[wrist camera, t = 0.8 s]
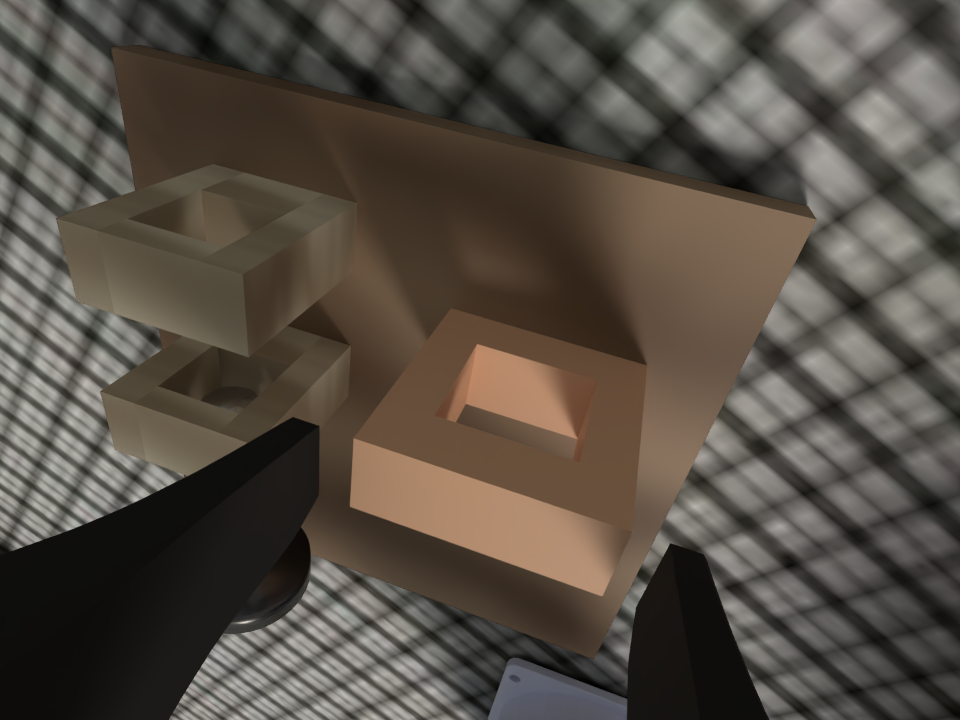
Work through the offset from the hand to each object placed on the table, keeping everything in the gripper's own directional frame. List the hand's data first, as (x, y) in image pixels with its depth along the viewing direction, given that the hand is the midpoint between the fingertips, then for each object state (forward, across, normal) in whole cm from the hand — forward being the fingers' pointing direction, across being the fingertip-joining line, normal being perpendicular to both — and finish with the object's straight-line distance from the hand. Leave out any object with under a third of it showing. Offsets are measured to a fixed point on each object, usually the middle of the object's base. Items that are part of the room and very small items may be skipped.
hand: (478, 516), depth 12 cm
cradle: (+7, +4, +3) cm, 9 cm away
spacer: (+6, 0, 0) cm, 6 cm away
